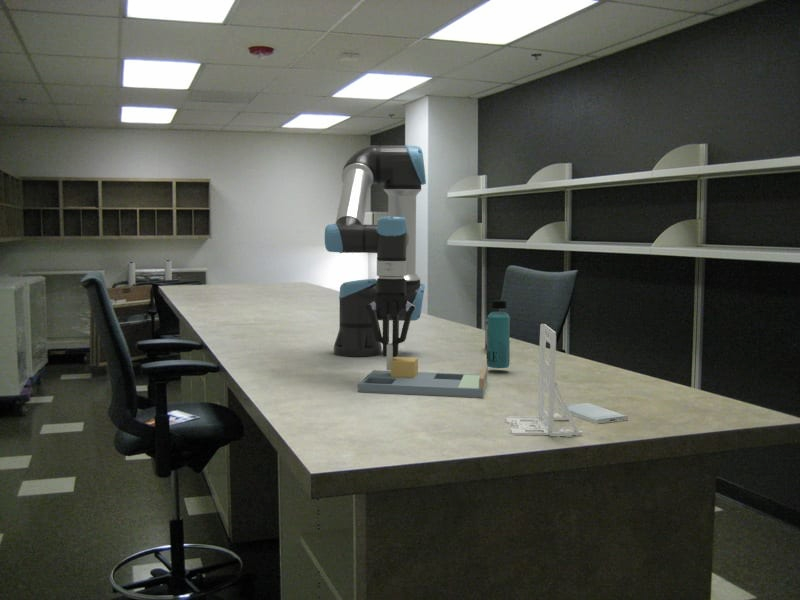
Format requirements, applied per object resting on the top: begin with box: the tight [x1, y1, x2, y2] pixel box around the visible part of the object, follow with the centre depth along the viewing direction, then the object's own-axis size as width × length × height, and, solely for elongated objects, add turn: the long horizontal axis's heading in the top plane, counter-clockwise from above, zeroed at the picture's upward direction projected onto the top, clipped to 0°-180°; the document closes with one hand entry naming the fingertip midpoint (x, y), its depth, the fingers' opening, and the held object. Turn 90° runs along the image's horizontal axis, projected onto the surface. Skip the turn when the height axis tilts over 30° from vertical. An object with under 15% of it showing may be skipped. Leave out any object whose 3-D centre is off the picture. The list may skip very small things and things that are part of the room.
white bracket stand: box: [503, 323, 584, 438], centre depth 148 cm, size 14×14×20 cm
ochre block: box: [390, 356, 419, 378], centre depth 191 cm, size 6×6×4 cm
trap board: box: [357, 364, 489, 399], centre depth 186 cm, size 30×18×4 cm, turn 80°
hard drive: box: [558, 402, 629, 425], centre depth 159 cm, size 2×8×12 cm
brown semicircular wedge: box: [484, 318, 488, 353], centre depth 242 cm, size 12×6×10 cm, turn 179°
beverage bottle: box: [486, 299, 511, 369], centre depth 207 cm, size 6×7×20 cm
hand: (390, 369), depth 192 cm, fingers closed
